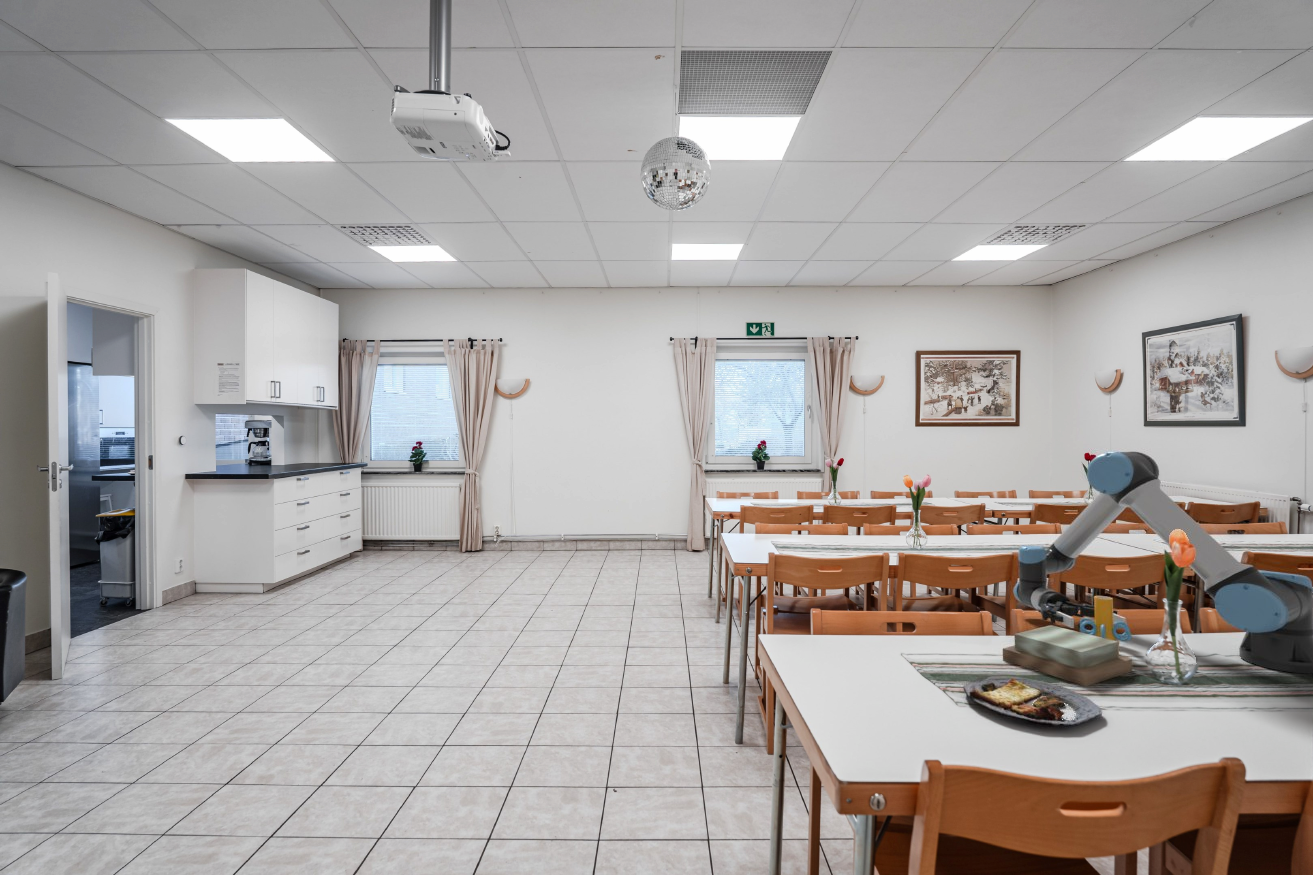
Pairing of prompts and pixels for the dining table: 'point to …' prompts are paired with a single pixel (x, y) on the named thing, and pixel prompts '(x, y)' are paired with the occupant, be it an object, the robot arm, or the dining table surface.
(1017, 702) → the food plate
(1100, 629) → the upright yellow plank
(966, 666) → the dining table surface
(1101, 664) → the plinth
